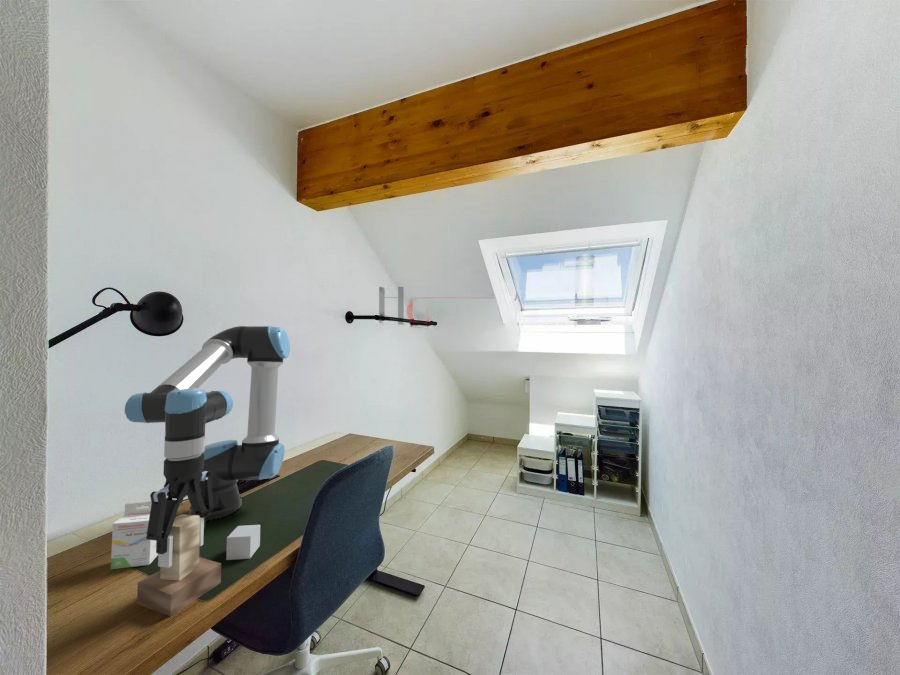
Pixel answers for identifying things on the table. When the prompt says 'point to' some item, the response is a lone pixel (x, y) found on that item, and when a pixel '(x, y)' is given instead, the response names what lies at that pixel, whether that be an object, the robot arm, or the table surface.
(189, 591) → the walnut base block
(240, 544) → the grey plastic block
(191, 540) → the oak column
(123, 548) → the ink box
